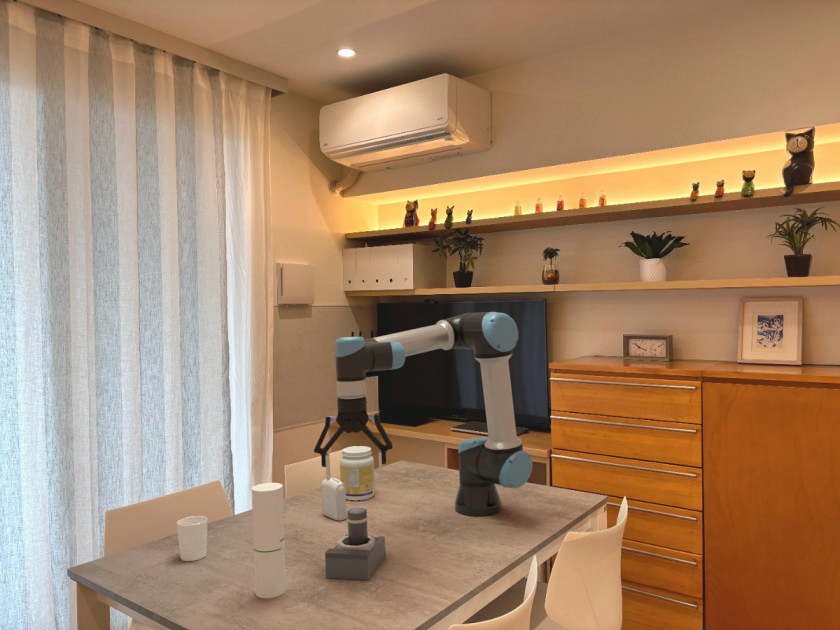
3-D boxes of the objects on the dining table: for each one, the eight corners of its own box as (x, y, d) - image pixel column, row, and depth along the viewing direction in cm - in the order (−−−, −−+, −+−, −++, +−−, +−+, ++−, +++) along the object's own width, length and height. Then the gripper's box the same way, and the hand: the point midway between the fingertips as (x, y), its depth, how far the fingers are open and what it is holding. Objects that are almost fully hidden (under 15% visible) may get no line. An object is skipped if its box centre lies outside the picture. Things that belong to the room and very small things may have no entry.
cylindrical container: (291, 586, 151) (288, 483, 150) (275, 600, 144) (272, 492, 144) (266, 583, 153) (262, 481, 153) (249, 596, 146) (245, 490, 146)
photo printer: (320, 514, 204) (319, 477, 203) (331, 511, 206) (330, 474, 206) (337, 522, 196) (335, 483, 195) (348, 519, 198) (347, 480, 198)
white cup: (180, 564, 166) (178, 527, 166) (176, 554, 173) (175, 519, 173) (210, 558, 170) (209, 521, 170) (206, 548, 177) (204, 513, 177)
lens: (359, 540, 166) (358, 506, 166) (372, 544, 162) (370, 510, 162) (344, 546, 162) (343, 511, 162) (357, 550, 159) (355, 515, 159)
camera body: (346, 552, 171) (345, 528, 171) (385, 554, 169) (384, 530, 168) (325, 577, 155) (325, 551, 155) (368, 580, 153) (367, 553, 153)
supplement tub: (345, 491, 229) (344, 445, 229) (378, 491, 227) (376, 445, 227) (336, 501, 217) (335, 453, 217) (371, 501, 215) (369, 453, 215)
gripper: (399, 392, 166) (402, 471, 167) (305, 396, 165) (308, 476, 165) (400, 396, 159) (403, 479, 159) (301, 400, 157) (304, 484, 158)
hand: (354, 477), depth 162 cm, fingers open, 13 cm apart
